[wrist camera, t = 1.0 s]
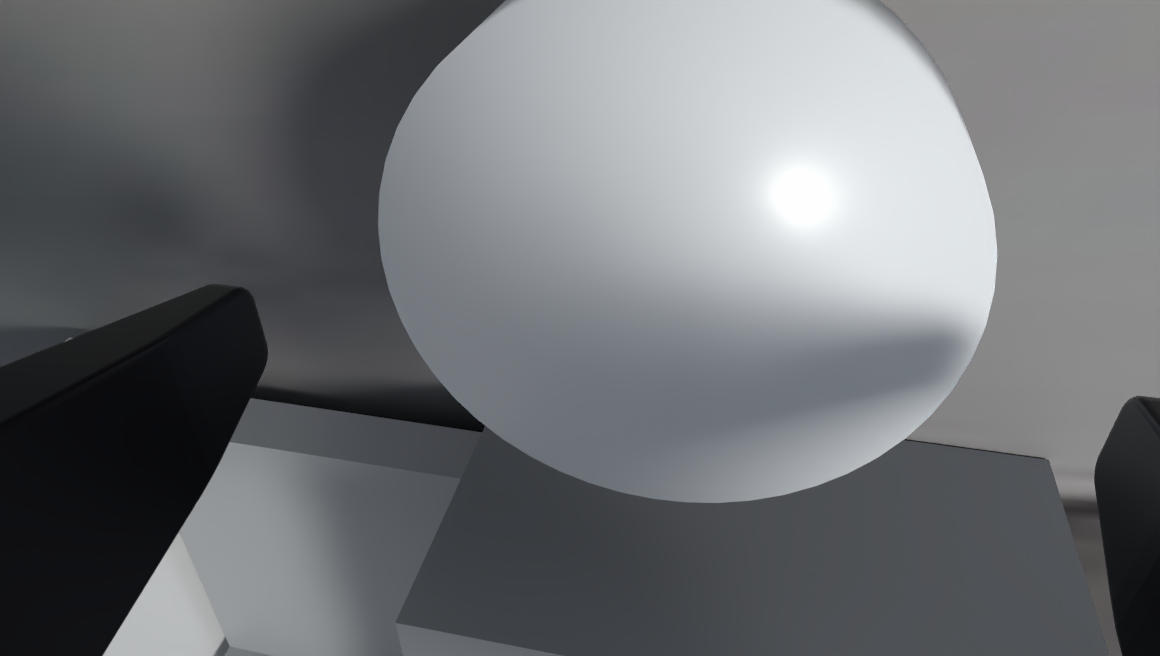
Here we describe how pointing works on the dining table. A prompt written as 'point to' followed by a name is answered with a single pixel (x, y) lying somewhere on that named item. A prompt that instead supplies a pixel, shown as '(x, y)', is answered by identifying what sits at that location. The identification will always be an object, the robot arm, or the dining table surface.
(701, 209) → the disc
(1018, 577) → the block
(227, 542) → the grey boxy piece
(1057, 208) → the dining table surface
